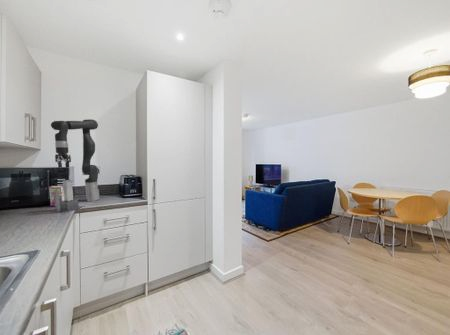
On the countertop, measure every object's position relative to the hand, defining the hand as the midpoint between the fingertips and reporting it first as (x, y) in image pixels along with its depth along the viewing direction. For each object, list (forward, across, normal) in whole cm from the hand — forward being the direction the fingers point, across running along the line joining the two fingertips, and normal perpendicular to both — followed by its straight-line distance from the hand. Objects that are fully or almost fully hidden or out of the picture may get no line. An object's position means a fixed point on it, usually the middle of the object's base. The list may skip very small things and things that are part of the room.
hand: (63, 167), depth 153 cm
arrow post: (+33, -5, +8) cm, 34 cm away
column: (+26, -5, +1) cm, 26 cm away
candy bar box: (+33, +17, -4) cm, 38 cm away
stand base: (+33, -5, +2) cm, 33 cm away
